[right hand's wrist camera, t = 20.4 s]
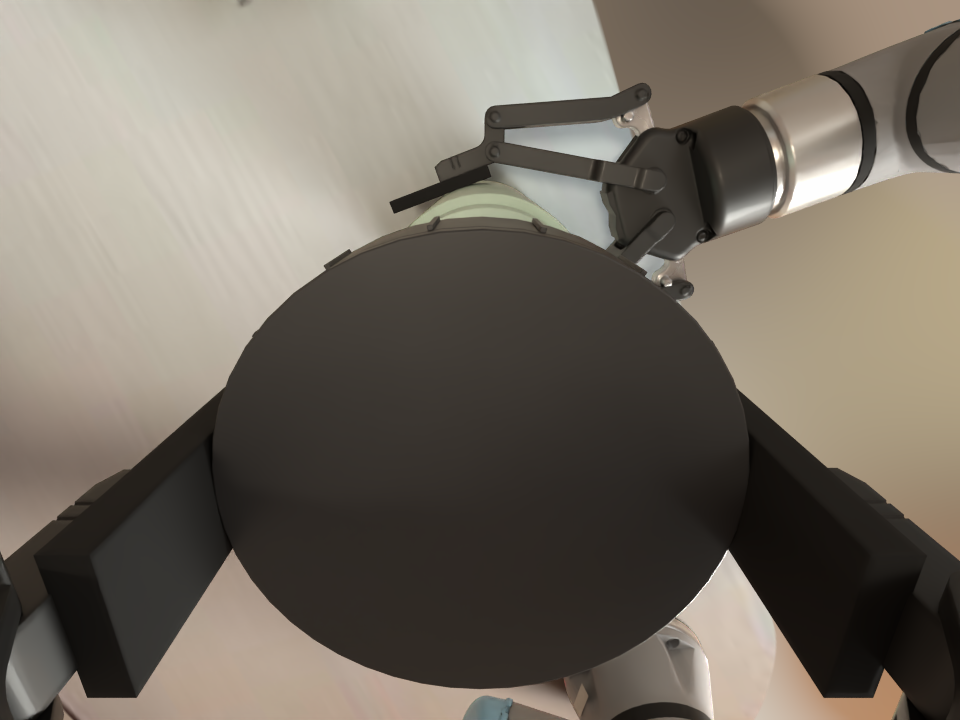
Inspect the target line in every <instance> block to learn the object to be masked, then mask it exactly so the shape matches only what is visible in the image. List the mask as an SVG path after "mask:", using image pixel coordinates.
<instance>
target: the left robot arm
mask: <svg viewBox="0 0 960 720" xmlns="http://www.w3.org/2000/svg"><path fill="white" fill-rule="evenodd" d="M650 98H651V89H650V87H649V86H648V85H647V84H645V83H640V84H637V85H635V86H633V87H630V88H628V89H626V90H624V91H622V92H620V93H618V94H616V95H614V96H612V97H602V98H589V99H576V100H563V101H550V102H537V103H524V104H511V105H497V106H492V107H490V108H489V109H488V110H487V111H486V113H485V136H484V140H483V142H482V143H481V144H480V145H479V146H478V147H476V148H473V149H471V150H468V151H466V152H463V153H461V154H458V155H455V156H453V157H450V158H448V159H445V160H443V161H441V162H440V163H439V164H438V165H436V166H435V169H436V172H437V175H438V178H439V180H440V183H437V184H435V185H432V186H429V187H427V188H424V189H422V190H419V191H416V192H414V193H411V194H409V195H406V196H403V197H401V198H398V199H395V200H393V201H391V202H389V203H390V205H391V207H392V210H393V212H394V214H395V213H397V212H400V211H403V210H405V209H408V208H410V207H413V206H416V205H418V204H421V203H424V202H426V201H429V200H432V199H434V198H437V197H439V196H442V195H445V194H447V193H450V192H453V191H455V190H458V189H460V188H463V187H466V186H468V185H471V184H474V183H476V182H479V181H482V180H484V179H487V178H489V177H491V175H490V172H489V169H488V166H487V165H489V164H492V163H500V164H506V165H511V166H516V167H522V168H527V169H533V170H538V171H543V172H549V173H554V174H560V175H565V176H571V177H576V178H581V179H587V180H592V181H597V182H603V184H602V191H600V194H601V198H602V201H603V204H604V205H605V207H606V209H607V210H608V212H609V228H610V231H611V235H612V236H613V237H614V238H615V241H614V242H613V243H612V244H611V245H610V246H609V247H608V248H607V249H606V251H608V252H610V253H611V254H613V255H614V256H616V257H617V258H619V256H620V255H622V256H624V257H625V258H627V259H628V260H630V261H631V262H633V263H634V264H637V263H638V262H639V261H640V260H641V259H642V258H643V257H644V256H645V255H646V254H649V255H652V256H656V257H659V258H662V259H664V265H663V266H662V267H661V268H660V269H659V270H657V271H655V272H654V273H653V275H652V280H651V281H652V282H653V283H654V284H656V285H657V286H658V287H660V288H661V289H663V290H664V291H665V292H667V293H668V294H669V295H671V296H672V297H673V298H674V299H675V300H676V301H680V300H684V299H687V298H689V297H690V296H691V295H692V294H693V292H694V287H693V285H692V284H691V283H690V282H688V281H687V279H686V272H685V265H684V257H685V256H686V255H687V254H688V253H689V252H690V251H691V250H692V249H693V248H695V247H696V246H698V245H700V244H702V243H705V242H708V241H711V240H714V239H717V238H720V237H723V236H726V235H729V234H732V233H735V232H737V231H740V230H743V229H746V228H749V227H752V226H755V225H757V224H760V223H762V222H763V221H764V220H765V219H766V218H767V217H769V218H778V217H781V216H784V215H787V214H790V213H792V212H795V211H798V210H801V209H804V208H806V207H809V206H812V205H815V204H817V203H820V202H823V201H826V200H829V199H831V198H834V197H837V196H840V195H843V194H846V193H849V192H852V191H854V190H857V189H860V188H863V187H866V186H869V185H872V184H875V183H878V182H881V181H884V180H887V179H890V178H894V177H897V176H900V175H904V174H908V173H914V172H946V173H960V19H959V20H956V21H953V22H952V21H949V22H946V23H943V24H941V25H939V26H937V27H934V28H931V29H929V30H927V31H926V32H925V33H924V34H922V35H919V36H916V37H914V38H911V39H908V40H906V41H903V42H901V43H898V44H895V45H893V46H890V47H887V48H885V49H882V50H880V51H877V52H875V53H872V54H870V55H867V56H865V57H862V58H860V59H858V60H855V61H853V62H850V63H848V64H845V65H843V66H840V67H838V68H835V69H833V70H830V71H826V72H822V73H819V74H817V75H813V76H810V77H808V78H805V79H802V80H800V81H797V82H794V83H791V84H789V85H786V86H783V87H781V88H778V89H775V90H773V91H770V92H767V93H765V94H762V95H759V96H756V97H754V98H751V99H749V100H747V101H746V102H745V103H744V104H743V105H742V106H741V107H739V106H730V107H727V108H725V109H722V110H719V111H717V112H714V113H711V114H709V115H706V116H703V117H701V118H698V119H695V120H693V121H690V122H687V123H684V124H682V125H679V126H676V127H674V128H671V129H663V128H658V127H655V125H654V122H653V119H652V115H651V112H650V108H649V105H648V101H649V100H650ZM610 119H612V121H613V123H614V125H615V126H616V127H617V128H630V129H632V130H633V131H634V132H635V134H636V135H635V137H634V138H633V139H632V141H631V142H630V143H629V145H628V146H627V147H626V149H625V150H624V152H623V153H622V154H621V156H620V157H619V159H618V160H617V161H616V163H614V162H608V161H603V160H596V159H590V158H585V157H580V156H574V155H569V154H564V153H558V152H553V151H548V150H542V149H537V148H531V147H526V146H521V145H515V144H510V143H505V142H504V130H505V129H519V128H532V127H545V126H558V125H572V124H585V123H596V122H602V121H606V120H610ZM564 683H565V688H566V692H567V695H568V697H569V700H570V702H571V704H572V706H573V707H574V709H575V711H576V713H577V715H578V717H579V719H580V720H714V716H713V705H712V695H711V684H710V674H709V667H708V662H707V658H706V655H705V653H704V651H703V649H702V647H701V644H700V642H699V640H698V638H697V637H696V635H695V634H694V633H693V632H692V630H691V629H690V628H688V627H687V626H686V625H685V624H683V623H682V622H680V621H678V620H677V619H673V620H672V621H671V622H670V623H669V624H668V625H666V626H665V627H664V628H662V629H661V630H660V631H658V632H657V633H656V634H654V635H653V636H652V637H650V638H649V639H648V640H646V641H645V642H643V643H641V644H640V645H638V646H636V647H634V648H633V649H631V650H629V651H628V652H626V653H624V654H623V655H621V656H619V657H617V658H614V659H612V660H610V661H608V662H606V663H603V664H601V665H599V666H597V667H595V668H592V669H589V670H586V671H583V672H580V673H577V674H574V675H571V676H568V677H565V678H564ZM463 720H568V719H565V718H561V717H558V716H555V715H552V714H549V713H546V712H543V711H540V710H537V709H534V708H531V707H528V706H525V705H522V704H518V703H515V702H513V700H512V699H510V698H507V699H506V700H505V699H500V698H495V697H491V696H482V697H479V698H478V699H476V700H475V701H474V702H473V703H472V704H471V705H470V707H469V708H468V710H467V712H466V713H465V715H464V718H463Z"/></svg>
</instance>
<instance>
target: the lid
mask: <svg viewBox="0 0 960 720" xmlns="http://www.w3.org/2000/svg"><path fill="white" fill-rule="evenodd" d="M324 267H325V269H326V271H324V272H323V273H321V274H320V275H319V276H317V277H316V278H314V279H313V280H312V281H310V282H309V283H307V284H306V285H304V286H303V287H302V288H300V289H299V290H297V291H296V292H295V293H293V294H292V295H291V296H290V297H289V298H288V299H287V300H286V301H285V302H284V303H283V304H282V305H281V306H280V307H279V308H278V309H277V310H276V311H275V312H273V313H272V314H271V315H270V316H269V317H268V318H267V319H266V321H265V322H264V323H263V325H262V326H261V327H260V329H259V330H257V331H256V332H255V333H254V334H253V336H252V337H253V338H252V339H251V340H250V342H249V343H248V344H247V345H246V347H245V349H244V351H243V352H242V354H241V356H240V358H239V360H238V362H237V363H236V365H235V367H234V369H233V371H232V373H231V374H230V376H229V379H228V382H227V385H226V387H225V390H224V393H223V396H222V399H221V401H220V404H219V407H218V412H217V418H216V423H215V429H214V434H213V445H212V474H213V482H214V490H215V497H216V502H217V506H218V509H219V513H220V516H221V520H222V523H223V527H224V529H225V531H226V534H227V536H228V538H229V540H230V543H231V545H232V547H233V549H234V552H235V554H236V556H237V557H238V559H239V560H240V562H241V564H242V565H243V567H244V568H245V570H246V572H247V573H248V575H249V576H250V578H251V580H252V581H253V582H254V583H255V584H256V586H257V587H258V588H259V589H260V591H261V592H262V593H263V594H264V595H265V597H266V598H267V599H268V600H269V602H270V603H271V604H272V605H274V606H275V607H276V608H277V609H278V610H279V611H280V612H281V613H282V614H283V615H284V616H285V617H286V618H287V619H288V620H289V621H290V622H291V623H293V624H294V625H295V626H297V627H298V628H299V629H301V630H302V631H303V632H305V633H306V634H307V635H309V636H310V637H311V638H312V639H314V640H316V641H317V642H319V643H320V644H322V645H324V646H325V647H327V648H329V649H330V650H332V651H334V652H335V653H337V654H339V655H341V656H343V657H345V658H347V659H350V660H352V661H354V662H356V663H358V664H360V665H362V666H365V667H367V668H370V669H373V670H376V671H379V672H382V673H384V674H387V675H390V676H393V677H397V678H401V679H405V680H410V681H414V682H418V683H422V684H429V685H436V686H443V687H450V688H469V689H493V688H511V687H518V686H526V685H533V684H539V683H544V682H548V681H552V680H556V679H561V678H565V677H568V676H571V675H574V674H577V673H580V672H583V671H586V670H589V669H592V668H595V667H597V666H599V665H601V664H603V663H606V662H608V661H610V660H612V659H614V658H617V657H619V656H621V655H623V654H624V653H626V652H628V651H629V650H631V649H633V648H634V647H636V646H638V645H640V644H641V643H643V642H645V641H646V640H648V639H649V638H650V637H652V636H653V635H654V634H656V633H657V632H658V631H660V630H661V629H662V628H664V627H665V626H666V625H668V624H669V623H670V622H671V621H672V620H673V619H674V618H675V617H677V616H678V615H679V614H680V613H681V612H682V611H683V610H684V609H685V608H686V607H687V606H688V605H689V604H690V603H691V602H692V601H693V600H694V599H695V597H696V596H697V595H698V594H699V593H700V591H701V590H702V589H703V588H704V587H705V585H706V584H707V583H708V582H709V580H710V579H711V577H712V576H713V574H714V573H715V571H716V569H717V568H718V566H719V565H720V563H721V562H722V560H723V558H724V557H725V555H726V553H727V550H728V548H729V546H730V544H731V542H732V540H733V537H734V535H735V533H736V531H737V528H738V525H739V521H740V518H741V514H742V510H743V506H744V501H745V496H746V491H747V486H748V480H749V473H750V468H749V437H748V431H747V426H746V420H745V414H744V409H743V406H742V403H741V400H740V397H739V394H738V391H737V388H736V385H735V383H734V380H733V377H732V375H731V374H730V372H729V370H728V368H727V366H726V364H725V362H724V360H723V359H722V357H721V355H720V353H719V351H718V349H717V348H716V346H715V344H714V343H713V341H711V340H710V338H709V337H708V336H707V334H706V333H705V332H704V330H703V329H702V328H701V326H700V325H699V324H698V322H697V321H696V320H695V319H694V318H693V317H692V316H691V315H690V314H689V313H688V312H687V311H686V310H685V309H684V308H683V307H682V306H681V305H680V304H679V303H678V302H677V301H676V300H675V299H674V298H673V297H672V296H671V295H669V294H668V293H667V292H665V291H664V290H663V289H661V288H660V287H658V286H657V285H656V284H654V283H653V282H652V281H650V280H649V279H647V278H646V277H645V275H646V274H647V272H646V271H645V270H644V269H642V268H640V267H639V266H637V265H636V264H634V263H633V262H631V261H630V260H628V259H627V258H625V257H624V256H622V255H620V256H619V258H617V257H616V256H614V255H613V254H611V253H610V252H608V251H606V250H604V249H602V248H600V247H598V246H597V245H595V244H593V243H591V242H589V241H587V240H585V239H583V238H581V237H579V236H576V235H573V234H570V233H568V232H565V231H562V230H559V229H557V228H554V227H551V226H547V225H543V224H542V223H541V222H540V221H539V220H538V219H536V218H532V222H528V221H524V220H519V219H510V218H496V217H483V216H481V217H465V218H449V219H443V220H440V216H436V217H434V218H433V219H432V220H431V221H430V222H428V223H423V224H418V225H414V226H411V227H408V228H405V229H402V230H399V231H397V232H394V233H391V234H388V235H385V236H382V237H380V238H378V239H377V240H375V241H373V242H371V243H369V244H367V245H365V246H363V247H361V248H359V249H357V250H355V251H353V252H351V251H350V249H349V250H347V251H345V252H344V253H342V254H341V255H339V256H338V257H336V258H335V259H333V260H332V261H330V262H329V263H327V264H325V265H324Z"/></svg>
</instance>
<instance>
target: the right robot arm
mask: <svg viewBox="0 0 960 720" xmlns="http://www.w3.org/2000/svg"><path fill="white" fill-rule="evenodd" d="M224 390H225V388H224V389H222V390H221V391H220V392H219V393H218V394H217V395H216V396H214V397H213V398H212V399H211V400H210V401H209V402H208V403H206V404H205V405H204V406H203V407H202V408H201V409H200V410H198V411H197V412H196V413H195V414H194V415H193V416H192V417H190V418H189V419H188V420H187V421H186V422H185V423H184V424H183V425H181V426H180V427H179V428H178V429H177V430H176V431H175V432H173V433H172V434H171V435H170V436H169V437H168V438H167V439H165V440H164V441H163V442H162V443H161V444H160V445H159V446H157V447H156V448H155V449H154V450H153V451H152V452H151V453H149V454H148V455H147V456H146V457H145V458H144V459H143V460H141V461H140V462H139V463H138V464H137V465H136V466H135V467H133V468H132V469H131V470H122V471H120V472H118V473H117V474H115V475H113V476H111V477H109V478H107V479H105V480H103V481H101V482H100V483H98V484H96V485H95V486H93V487H92V488H91V489H90V490H89V491H87V492H86V493H85V494H84V495H83V496H81V497H80V498H79V499H78V500H77V501H75V505H71V506H69V507H68V508H67V509H66V510H65V511H63V512H62V513H61V514H60V515H59V516H57V520H53V521H51V522H50V523H49V524H48V525H47V526H45V527H44V528H43V529H42V530H41V531H39V532H38V533H37V534H36V535H35V536H34V537H32V538H31V539H30V540H29V541H28V542H26V543H25V544H24V545H23V546H22V547H20V548H19V549H18V550H17V551H16V552H14V553H13V554H12V555H11V556H10V557H8V558H7V559H6V560H5V561H4V560H3V557H2V555H1V552H0V720H63V717H64V713H63V707H62V702H61V700H60V698H59V695H58V693H59V692H60V691H61V689H62V688H63V687H64V686H65V684H66V683H67V682H68V681H69V679H70V678H71V677H72V676H73V674H74V673H75V672H76V671H77V672H78V675H79V677H80V680H81V682H82V685H83V688H84V690H85V693H86V696H87V698H137V696H138V695H139V693H140V692H141V690H142V689H143V687H144V685H145V684H146V682H147V681H148V679H149V678H150V676H151V675H152V673H153V671H154V670H155V668H156V667H157V665H158V664H159V662H160V661H161V659H162V657H163V656H164V654H165V653H166V651H167V650H168V648H169V647H170V645H171V643H172V642H173V640H174V639H175V637H176V636H177V634H178V633H179V631H180V629H181V628H182V626H183V625H184V623H185V622H186V620H187V619H188V617H189V615H190V614H191V612H192V611H193V609H194V608H195V606H196V605H197V603H198V601H199V600H200V598H201V597H202V595H203V594H204V592H205V591H206V589H207V587H208V586H209V584H210V583H211V581H212V580H213V578H214V577H215V575H216V573H217V572H218V570H219V569H220V567H221V566H222V564H223V563H224V561H225V559H226V558H227V556H228V555H229V553H230V552H231V550H232V549H233V547H232V545H231V543H230V540H229V538H228V536H227V534H226V531H225V529H224V527H223V523H222V520H221V516H220V513H219V509H218V506H217V502H216V497H215V490H214V482H213V474H212V445H213V434H214V429H215V423H216V418H217V412H218V407H219V404H220V401H221V399H222V396H223V393H224ZM737 391H738V394H739V397H740V400H741V403H742V406H743V409H744V414H745V420H746V426H747V431H748V437H749V468H750V473H749V480H748V486H747V491H746V496H745V501H744V506H743V510H742V514H741V518H740V521H739V525H738V528H737V531H736V533H735V535H734V537H733V540H732V542H731V544H730V546H729V548H728V550H729V551H730V553H731V554H732V556H733V557H734V559H735V560H736V562H737V564H738V565H739V567H740V568H741V570H742V571H743V573H744V574H745V576H746V578H747V579H748V581H749V582H750V584H751V585H752V587H753V588H754V590H755V592H756V593H757V595H758V596H759V598H760V599H761V601H762V602H763V604H764V606H765V607H766V609H767V610H768V612H769V613H770V615H771V616H772V618H773V620H774V621H775V623H776V624H777V626H778V627H779V629H780V630H781V632H782V633H783V635H784V637H785V638H786V640H787V641H788V643H789V644H790V646H791V648H792V649H793V651H794V652H795V654H796V655H797V657H798V658H799V660H800V662H801V663H802V665H803V666H804V668H805V669H806V671H807V672H808V674H809V675H810V677H811V679H812V680H813V682H814V683H815V685H816V686H817V688H818V689H819V691H820V693H821V694H822V696H823V697H824V698H873V697H874V694H875V692H876V689H877V686H878V684H879V681H880V678H881V676H882V673H883V671H884V668H885V670H886V671H887V672H888V673H889V675H890V676H891V677H892V678H893V680H894V681H895V682H896V683H897V685H898V686H899V687H900V688H901V690H902V691H903V693H902V695H901V698H900V700H899V702H898V705H897V707H896V710H895V712H894V715H893V717H892V720H960V561H959V560H958V559H957V558H955V557H954V556H953V555H952V554H951V553H949V552H948V551H947V550H946V549H945V548H943V547H942V546H941V545H940V544H939V543H937V542H936V541H935V540H934V539H932V538H931V537H930V536H929V535H928V534H926V533H925V532H924V531H923V530H922V529H920V528H919V527H918V526H917V525H916V524H914V523H913V522H912V521H911V520H910V519H905V518H904V515H903V514H902V513H901V512H900V511H899V510H898V509H896V508H895V507H894V506H893V505H891V504H887V503H886V500H885V499H884V498H883V497H882V496H881V495H879V494H878V493H877V492H876V491H875V490H873V489H872V488H871V487H870V486H869V485H867V484H866V483H865V482H863V481H861V480H859V479H857V478H855V477H853V476H851V475H850V474H848V473H846V472H844V471H842V470H840V469H838V468H827V467H826V466H825V465H823V464H822V463H821V462H820V461H819V460H818V459H817V458H816V457H814V456H813V455H812V454H811V453H810V452H809V451H808V450H806V449H805V448H804V447H803V446H802V445H801V444H800V443H798V442H797V441H796V440H795V439H794V438H793V437H791V436H790V435H789V434H788V433H787V432H786V431H785V430H784V429H782V428H781V427H780V426H779V425H778V424H777V423H776V422H774V421H773V420H772V419H771V418H770V417H769V416H768V415H766V414H765V413H764V412H763V411H762V410H761V409H760V408H758V407H757V406H756V405H755V404H754V403H753V402H752V401H750V400H749V399H748V398H747V397H746V396H745V395H744V394H743V393H741V392H740V391H739V390H738V389H737Z"/></svg>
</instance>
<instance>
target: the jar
mask: <svg viewBox="0 0 960 720" xmlns="http://www.w3.org/2000/svg"><path fill="white" fill-rule="evenodd" d="M436 216H440V220H443V219H449V218H465V217H481V216H483V217H496V218H510V219H519V220H524V221H528V222H532V218H536V219H538V220H539V221H540V222H541V223H542V224H543V225H547V226H551V227H554V228H557V229H559V230H562V231H565V232H568V230H567V229H566V228H565V227H564V226H563V225H562V224H561V223H560V222H559V221H558V220H557V219H556V218H555V217H553V216H552V215H551V214H549V213H548V212H547V211H545V210H544V209H542V208H541V207H540V206H538V205H537V204H536V203H534V202H533V201H531V200H530V199H529V198H527V197H526V196H525V195H523V194H522V193H520V192H519V191H518V190H516V189H514V188H512V187H510V186H508V185H505V184H503V183H499V182H495V181H479V182H476V183H474V184H471V185H468V186H466V187H463V188H460V189H458V190H455V191H453V192H450V193H447V194H445V195H444V196H443V197H442V198H441V199H439V200H438V201H437V202H436V203H435V204H434V205H432V206H431V207H430V208H429V209H428V210H427V211H425V212H424V213H423V214H422V215H421V216H420V217H419V218H417V219H416V220H415V221H414V222H413V223H412V224H411V225H410V226H409V227H411V226H414V225H418V224H423V223H428V222H430V221H431V220H432V219H433V218H434V217H436ZM568 233H569V232H568Z"/></svg>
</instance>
